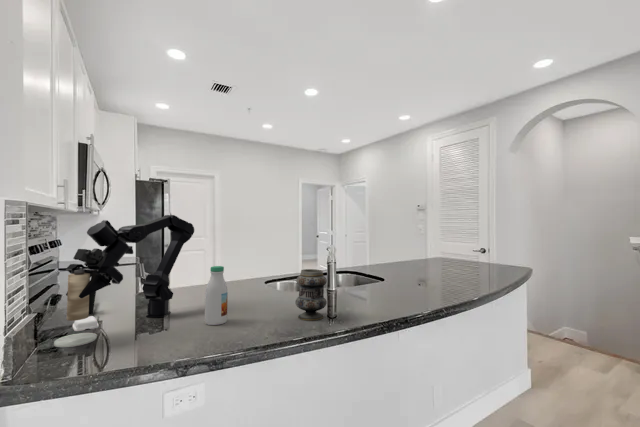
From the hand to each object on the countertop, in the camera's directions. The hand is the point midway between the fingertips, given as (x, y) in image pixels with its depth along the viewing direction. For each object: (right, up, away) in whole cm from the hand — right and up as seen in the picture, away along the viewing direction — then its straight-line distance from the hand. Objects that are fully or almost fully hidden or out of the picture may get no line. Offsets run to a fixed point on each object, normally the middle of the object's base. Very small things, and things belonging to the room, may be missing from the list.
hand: (73, 296), depth 93 cm
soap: (-7, -15, +15) cm, 22 cm away
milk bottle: (+35, -15, +20) cm, 43 cm away
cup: (-19, -15, +29) cm, 37 cm away
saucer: (0, -13, +1) cm, 13 cm away
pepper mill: (0, -7, +1) cm, 7 cm away
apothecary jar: (+69, -16, +28) cm, 76 cm away
